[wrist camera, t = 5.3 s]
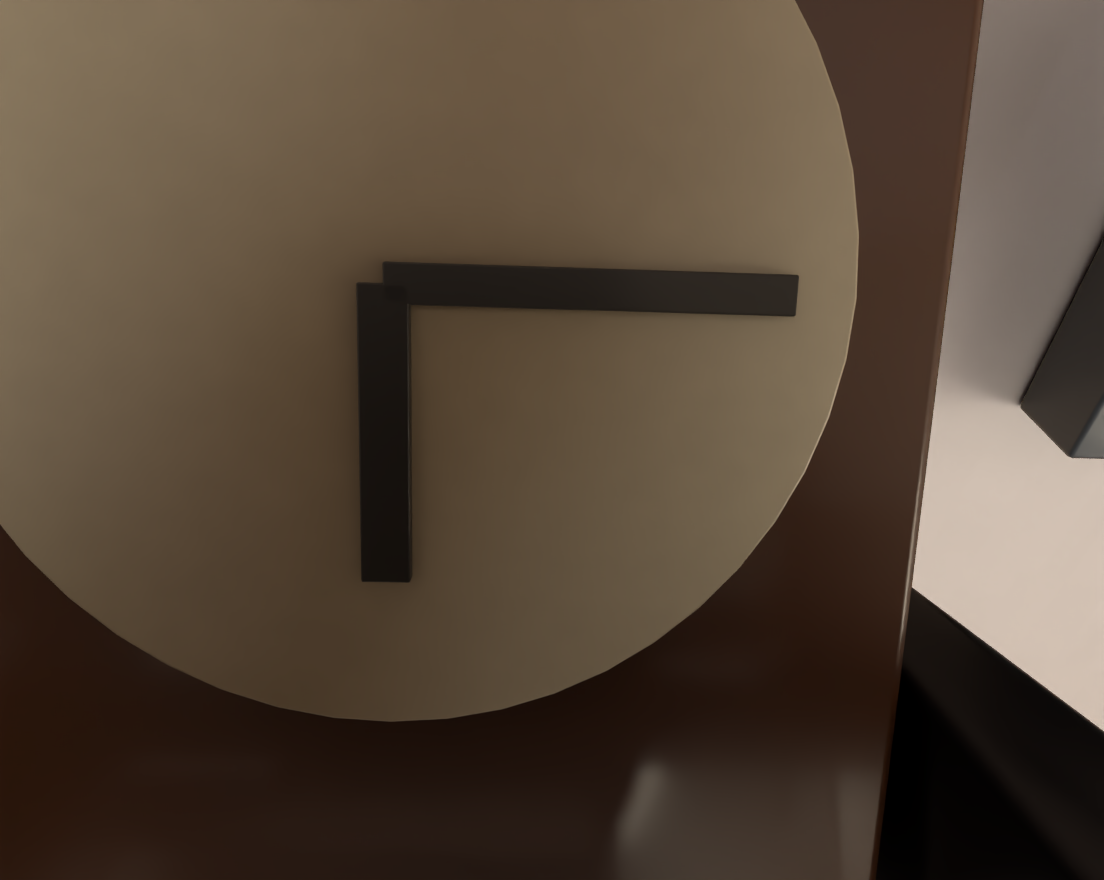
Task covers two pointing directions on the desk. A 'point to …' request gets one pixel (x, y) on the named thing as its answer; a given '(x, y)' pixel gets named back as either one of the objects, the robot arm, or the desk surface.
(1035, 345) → the desk surface
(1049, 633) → the desk surface
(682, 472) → the alarm clock
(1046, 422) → the switch block
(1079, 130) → the desk surface
